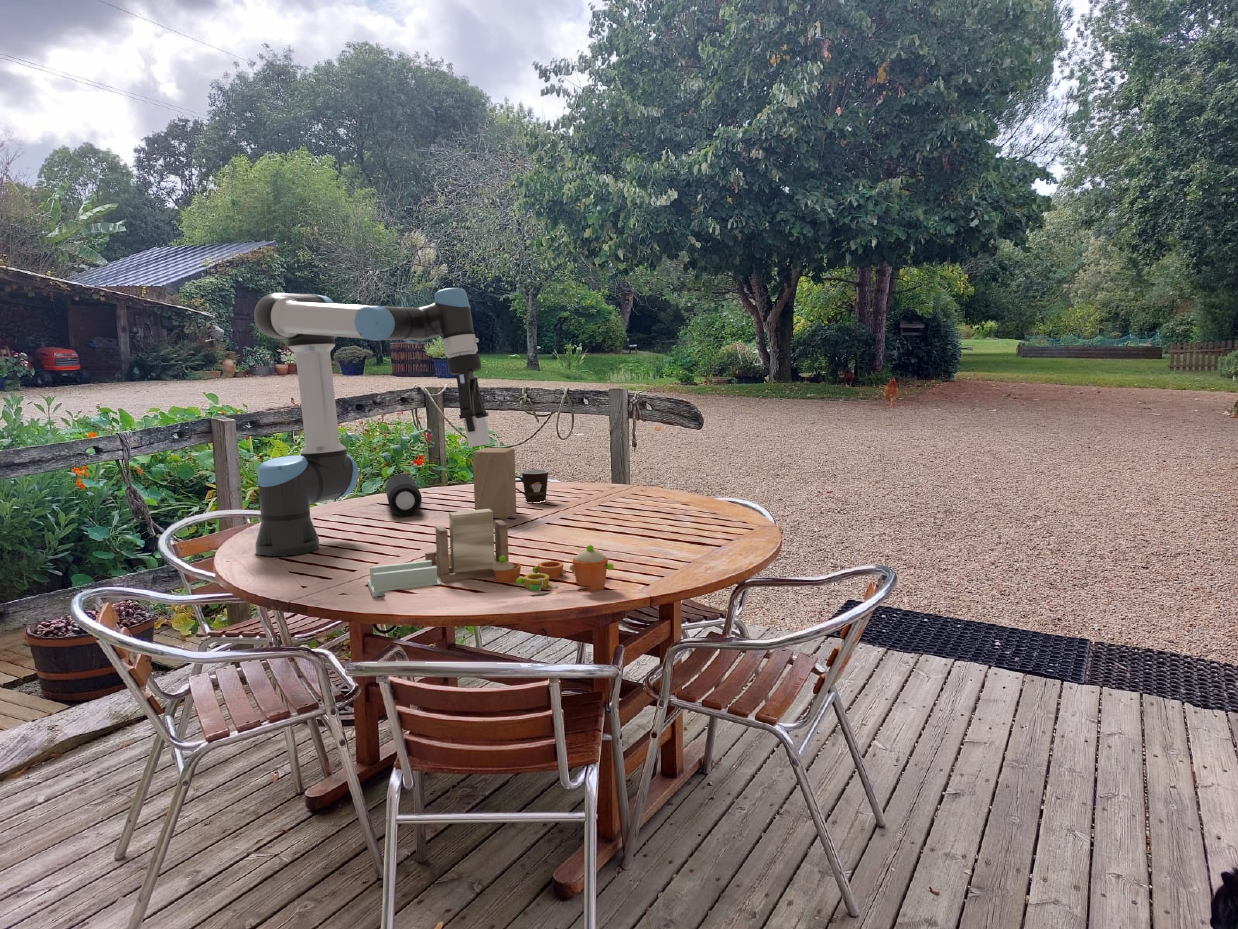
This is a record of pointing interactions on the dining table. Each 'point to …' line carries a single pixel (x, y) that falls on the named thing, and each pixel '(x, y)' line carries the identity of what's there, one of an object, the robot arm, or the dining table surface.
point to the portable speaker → (403, 495)
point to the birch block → (471, 540)
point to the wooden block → (495, 481)
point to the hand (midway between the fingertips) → (480, 445)
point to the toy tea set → (558, 572)
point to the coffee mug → (534, 485)
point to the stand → (401, 576)
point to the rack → (444, 554)
